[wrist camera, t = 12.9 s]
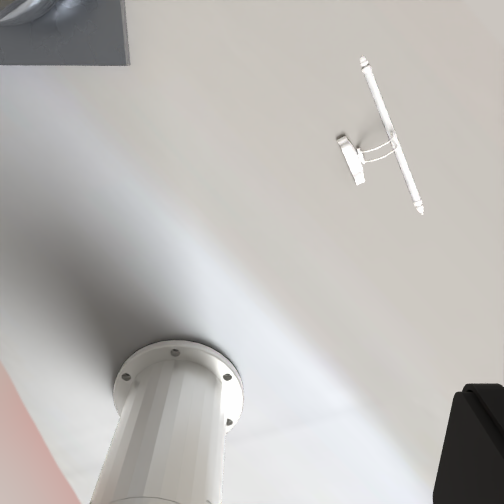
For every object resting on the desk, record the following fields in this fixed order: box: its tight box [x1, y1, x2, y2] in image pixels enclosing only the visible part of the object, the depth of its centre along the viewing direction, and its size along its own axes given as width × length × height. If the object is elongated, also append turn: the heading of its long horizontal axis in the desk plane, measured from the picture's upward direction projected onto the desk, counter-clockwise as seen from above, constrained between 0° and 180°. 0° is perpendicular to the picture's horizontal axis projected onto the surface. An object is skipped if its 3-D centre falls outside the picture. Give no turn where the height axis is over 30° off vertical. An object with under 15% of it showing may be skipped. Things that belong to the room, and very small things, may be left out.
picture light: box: [337, 56, 424, 215], centre depth 36 cm, size 14×4×2 cm, turn 27°
